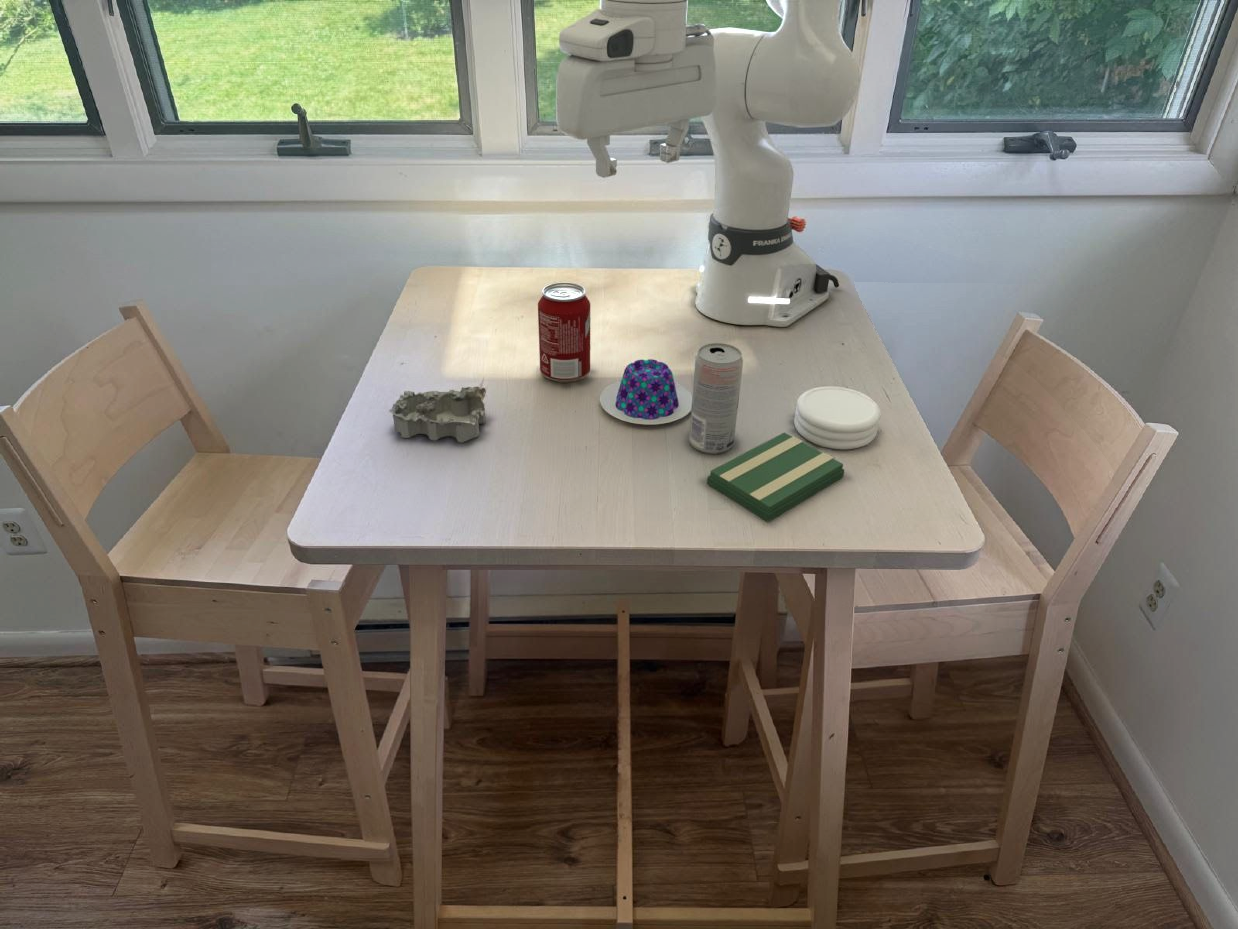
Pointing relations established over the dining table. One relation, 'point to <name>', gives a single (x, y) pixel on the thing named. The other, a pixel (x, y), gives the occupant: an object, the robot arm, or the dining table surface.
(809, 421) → the coaster
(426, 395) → the egg carton
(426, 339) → the dining table surface
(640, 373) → the pudding
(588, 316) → the soda can
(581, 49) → the robot arm
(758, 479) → the tea towel
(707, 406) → the energy drink
